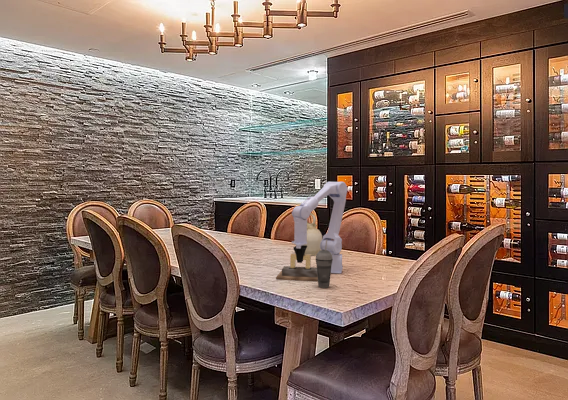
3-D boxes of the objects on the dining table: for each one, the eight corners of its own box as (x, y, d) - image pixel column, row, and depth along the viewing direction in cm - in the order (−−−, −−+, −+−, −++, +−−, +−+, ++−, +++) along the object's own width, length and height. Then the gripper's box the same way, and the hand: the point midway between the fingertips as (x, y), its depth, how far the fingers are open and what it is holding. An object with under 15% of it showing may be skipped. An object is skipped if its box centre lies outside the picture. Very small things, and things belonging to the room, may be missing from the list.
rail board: (323, 274, 202) (323, 266, 202) (320, 281, 188) (320, 272, 188) (281, 272, 205) (281, 264, 205) (275, 279, 191) (276, 270, 191)
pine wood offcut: (310, 267, 197) (310, 254, 197) (309, 268, 194) (310, 255, 194) (291, 266, 199) (291, 253, 198) (290, 267, 196) (290, 255, 195)
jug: (309, 251, 271) (310, 211, 270) (327, 254, 260) (328, 213, 258) (291, 253, 262) (292, 212, 260) (309, 257, 250) (309, 214, 249)
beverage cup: (321, 283, 184) (322, 237, 183) (335, 286, 179) (336, 239, 178) (311, 286, 178) (312, 239, 177) (326, 289, 174) (326, 240, 173)
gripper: (294, 230, 204) (293, 258, 204) (289, 233, 189) (289, 264, 190) (309, 230, 202) (308, 259, 203) (305, 234, 188) (305, 265, 189)
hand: (300, 261), depth 196 cm, fingers closed on pine wood offcut, 3 cm apart
